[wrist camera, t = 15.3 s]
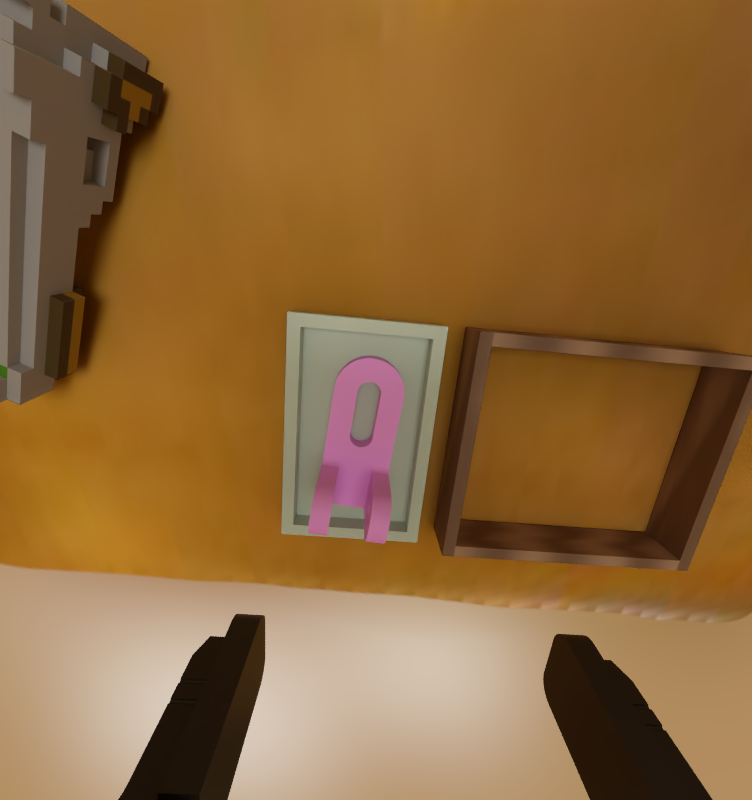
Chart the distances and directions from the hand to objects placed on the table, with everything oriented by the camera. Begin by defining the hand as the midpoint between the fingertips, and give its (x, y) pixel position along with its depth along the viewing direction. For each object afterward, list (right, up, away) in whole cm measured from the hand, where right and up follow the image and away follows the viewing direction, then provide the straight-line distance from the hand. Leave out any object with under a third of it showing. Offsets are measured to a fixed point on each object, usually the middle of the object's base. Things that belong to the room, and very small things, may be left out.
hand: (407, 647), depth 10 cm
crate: (+17, +3, +23) cm, 28 cm away
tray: (-2, +4, +22) cm, 22 cm away
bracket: (-2, +4, +21) cm, 21 cm away
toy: (-22, +19, +17) cm, 34 cm away
